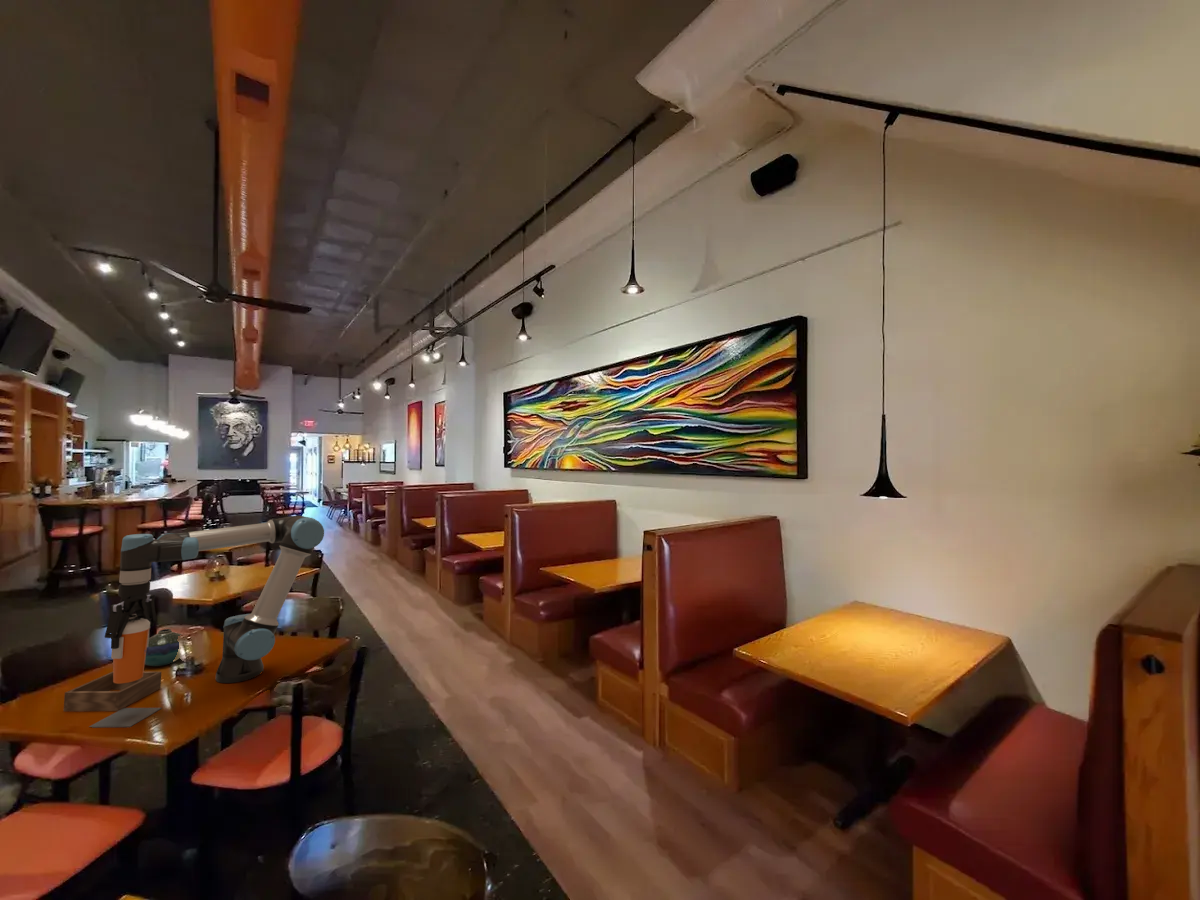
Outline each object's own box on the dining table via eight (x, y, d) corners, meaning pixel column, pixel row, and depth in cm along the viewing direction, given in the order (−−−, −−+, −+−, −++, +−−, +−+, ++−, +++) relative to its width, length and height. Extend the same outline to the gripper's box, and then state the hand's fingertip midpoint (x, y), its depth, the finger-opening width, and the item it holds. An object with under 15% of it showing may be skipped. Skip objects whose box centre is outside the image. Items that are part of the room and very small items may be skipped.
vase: (140, 661, 205) (142, 628, 205) (188, 653, 214) (190, 622, 214) (134, 673, 192) (136, 639, 193) (185, 665, 201) (187, 632, 202)
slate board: (161, 708, 166) (161, 707, 166) (129, 727, 154) (129, 726, 154) (123, 708, 165) (123, 707, 165) (88, 727, 153) (89, 726, 153)
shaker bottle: (123, 686, 155) (127, 621, 156) (101, 683, 156) (105, 619, 157) (154, 675, 163) (158, 613, 164) (133, 672, 165) (136, 611, 166)
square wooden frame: (160, 688, 181) (161, 671, 181) (118, 711, 164) (119, 692, 164) (111, 688, 180) (112, 671, 180) (63, 711, 163) (64, 692, 163)
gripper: (150, 575, 172) (146, 641, 171) (90, 590, 150) (85, 665, 149) (173, 575, 172) (169, 641, 171) (116, 590, 151) (111, 665, 150)
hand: (130, 652), depth 160 cm, fingers closed on shaker bottle, 9 cm apart
